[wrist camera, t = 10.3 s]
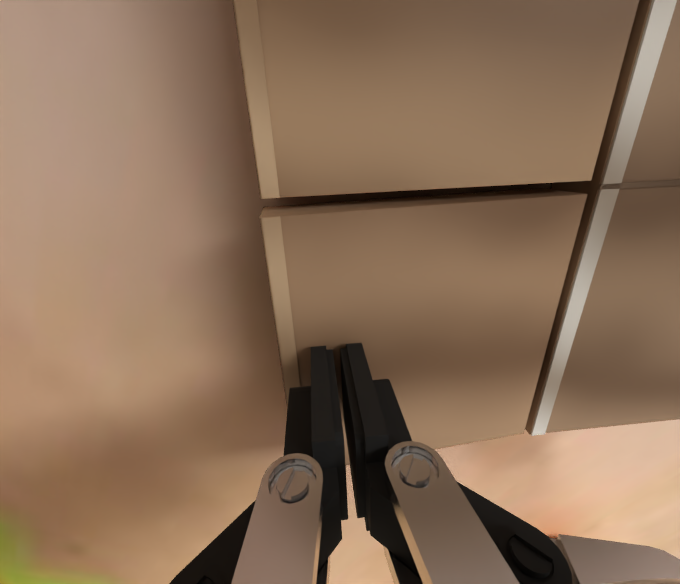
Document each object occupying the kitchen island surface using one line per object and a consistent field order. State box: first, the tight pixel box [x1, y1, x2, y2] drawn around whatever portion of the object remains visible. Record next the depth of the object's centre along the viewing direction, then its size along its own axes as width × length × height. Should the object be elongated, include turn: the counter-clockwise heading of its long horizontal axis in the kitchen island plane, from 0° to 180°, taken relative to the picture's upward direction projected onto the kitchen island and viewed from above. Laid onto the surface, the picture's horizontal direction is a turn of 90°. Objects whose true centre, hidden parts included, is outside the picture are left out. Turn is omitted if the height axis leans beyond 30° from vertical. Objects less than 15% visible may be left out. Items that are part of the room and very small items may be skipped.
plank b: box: [260, 188, 587, 465], centre depth 12 cm, size 10×10×2 cm
